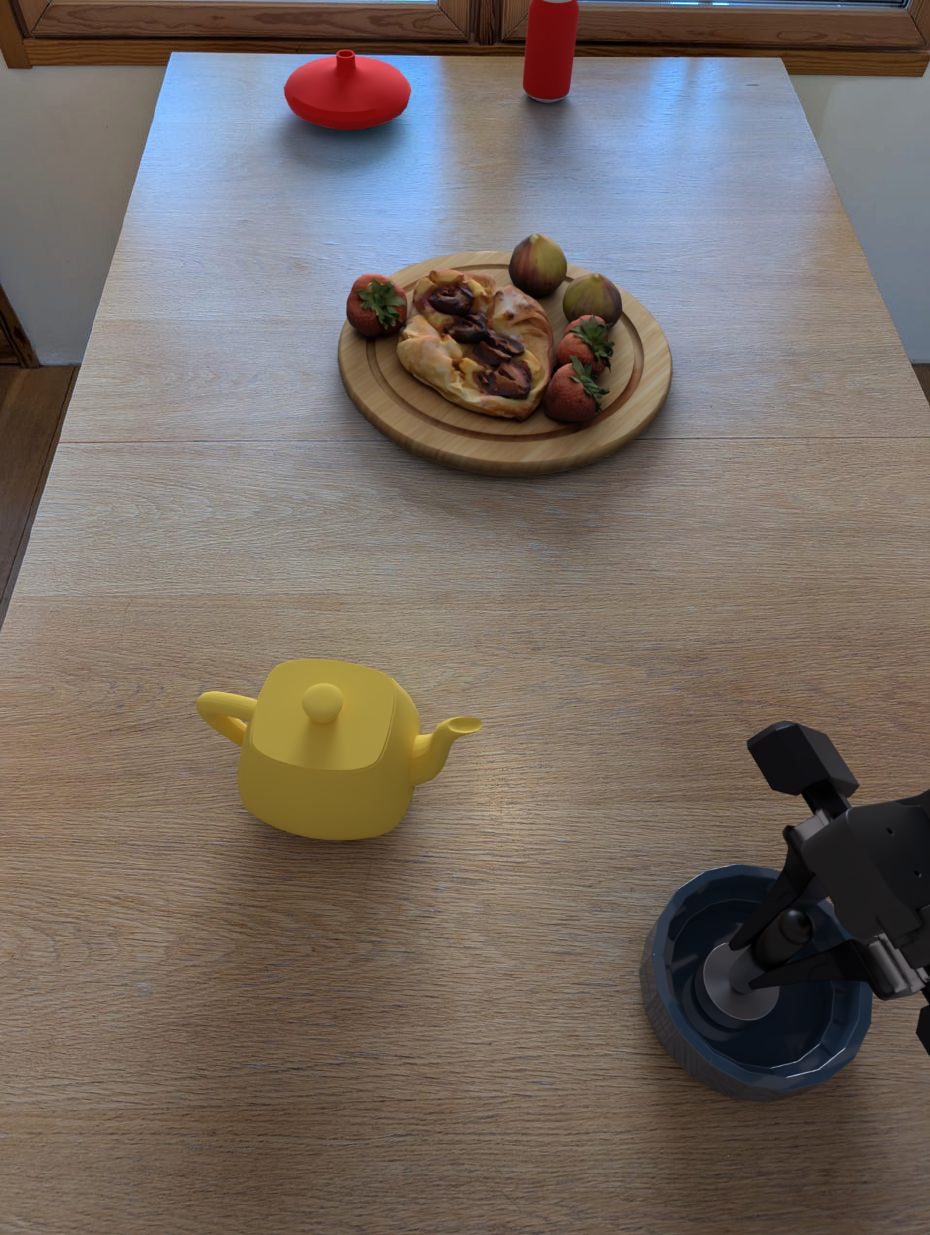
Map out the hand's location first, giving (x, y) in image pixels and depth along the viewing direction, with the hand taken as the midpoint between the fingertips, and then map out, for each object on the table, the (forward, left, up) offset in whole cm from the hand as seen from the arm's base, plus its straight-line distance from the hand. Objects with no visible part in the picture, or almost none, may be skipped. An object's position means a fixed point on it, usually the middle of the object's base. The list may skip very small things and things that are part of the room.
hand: (742, 966), depth 50 cm
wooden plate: (+28, -53, -8) cm, 60 cm away
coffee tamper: (-1, -1, -7) cm, 7 cm away
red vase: (+60, -93, -8) cm, 111 cm away
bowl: (-2, -1, -8) cm, 8 cm away
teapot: (+26, -7, -8) cm, 28 cm away
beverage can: (+38, -107, -8) cm, 114 cm away
